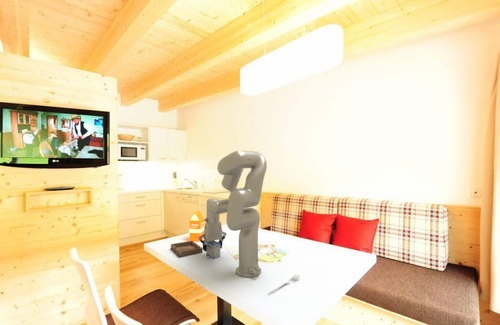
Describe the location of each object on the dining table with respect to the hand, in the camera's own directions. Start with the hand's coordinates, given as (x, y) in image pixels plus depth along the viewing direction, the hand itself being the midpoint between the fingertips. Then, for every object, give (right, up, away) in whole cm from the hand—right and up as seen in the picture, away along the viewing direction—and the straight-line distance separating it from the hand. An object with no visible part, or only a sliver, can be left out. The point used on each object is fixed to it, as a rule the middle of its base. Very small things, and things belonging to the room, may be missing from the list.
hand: (212, 249), depth 148 cm
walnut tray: (-18, -4, +9) cm, 20 cm away
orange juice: (-16, -5, +33) cm, 37 cm away
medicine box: (0, -4, 0) cm, 4 cm away
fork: (+36, -4, -37) cm, 52 cm away
